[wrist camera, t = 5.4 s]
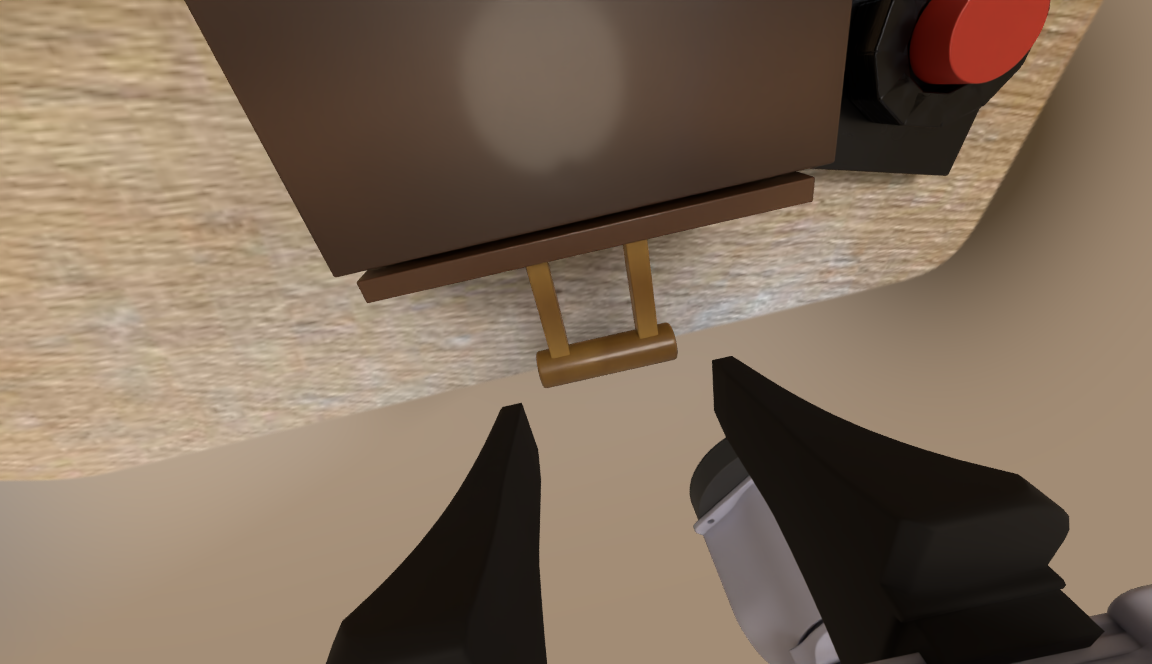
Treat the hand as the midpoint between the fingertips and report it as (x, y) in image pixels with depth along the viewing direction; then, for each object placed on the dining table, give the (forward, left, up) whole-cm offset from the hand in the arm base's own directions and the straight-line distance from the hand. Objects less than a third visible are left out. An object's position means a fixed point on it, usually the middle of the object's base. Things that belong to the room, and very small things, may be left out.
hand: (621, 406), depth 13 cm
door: (+2, +2, -10) cm, 10 cm away
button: (+16, -5, -7) cm, 18 cm away
